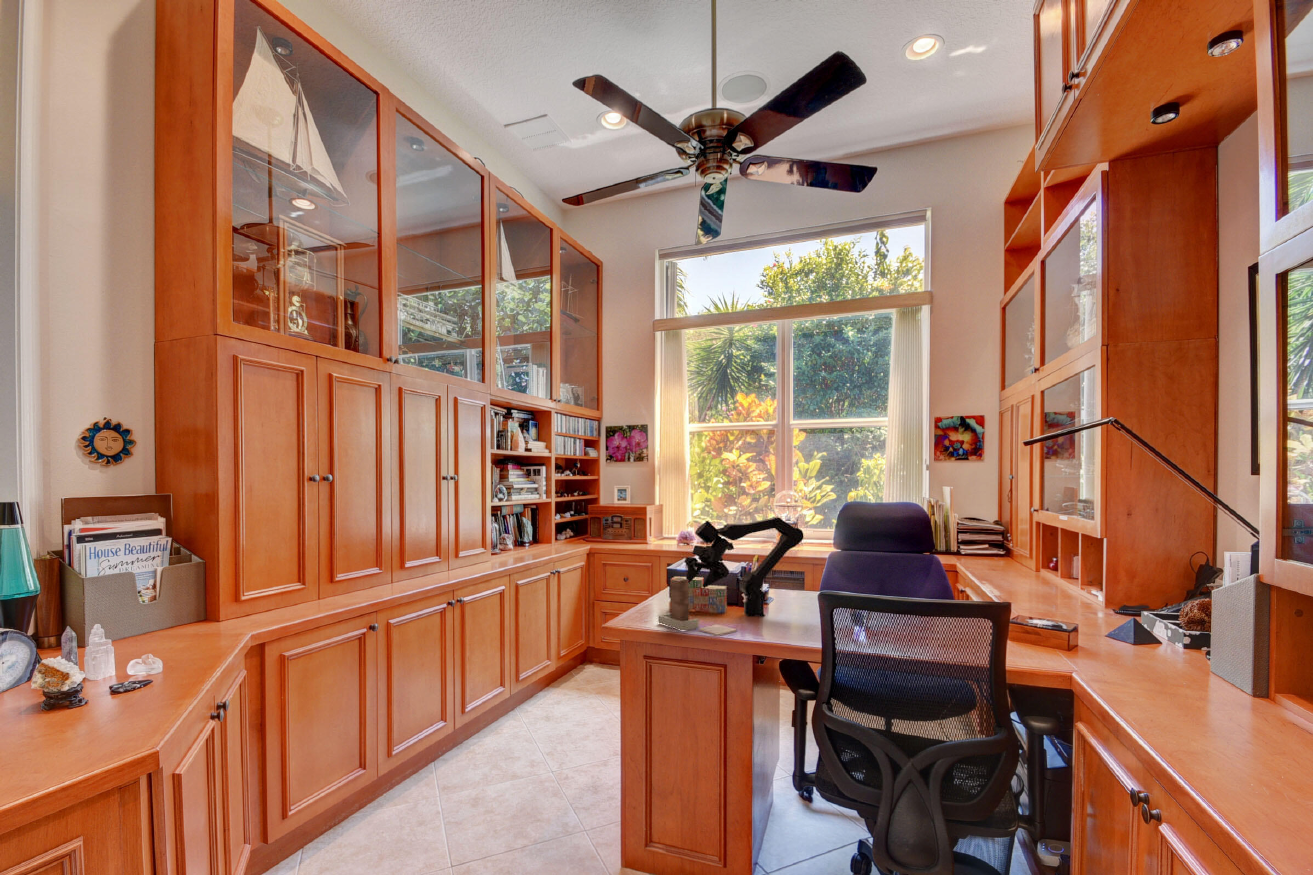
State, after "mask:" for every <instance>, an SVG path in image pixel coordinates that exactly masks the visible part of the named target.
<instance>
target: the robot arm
mask: <svg viewBox="0 0 1313 875" xmlns="http://www.w3.org/2000/svg"><path fill="white" fill-rule="evenodd" d="M768 530H776V531H777V532H778V533H780V536H779V539H778V542H777V544H775V546H774V547H773V548H772V550H771V551H769V553H768V554H767V556H766V557H764V559H763V560H762V561H761V562H760V564H759V565H758V566H757V567H756V568H755V569H754V570H753V571H750V570H746V572H745V573H744V575H743V576H742V577H740V581H739V583H738V584H739V589H740V591H741V592H743V594H744V597H745V601H744V602H743V612H744V614H745V615H746V616H747V617H766V614H765V611H764V610H765V609H764V603H765V602H764V601H765V599H766V593H765V592H764V591H763V590H762V588H763V584H764V582H765V579H766V577H767V576H768V575H769V573H770V572H772V570H773V569H774V567H776V565H777V564H778V563H779V562H780V560H782V558H783V557H784V556H785V555H786V554H787V552H789V551H790V550H791V549H793V548H795V547H796V546H797V545H799V544H800V543H801V542H802V541H803V540H804V532H803V531H802V529H800V528H798V527H795V526H793V525H791V524H790V523H789V522H786V521H785V520H783V519H782V518H781V517H779V516H778V517H777V516H772V517H770V518H766V519H761V520H756V521H750V522H746V523H726V524H724V525H723V527H719V528H716V527H715V526H714V525H712V523H711V522H710V521H709V520H706V521H704V523H702V524H700V525H699V526H698V527H697V529H696V530H695V532H694V534H695V535H696V536H697V537H698V538H699V539H700V540H702V541H703V542H704V543H705V544H710V545H706V546H702V545H696V544H695V545H694V547H693V549H692V553H691V554H692V555H695V556H697V557H698V559H699V561H698V559H697V558H696V557H693V556H688V557H686V558H685V559H684V563H685V566H686V567H687V572H686V576H685V577H686V579H688V583H689V582H690V581H692V580H693V579H694V578H695V577H698V575H699V574H700V572H701V570H702V569H705V570H709V572H708V575H707V576H706V578H705V579H704V583H703V587H704V588H705V587H707V586H709V585H712V584H714V583H715V582H718V581H720V580H723V579H724V578H727V577H728V576H729V574H730V570H729V568H728V567H727V566H726V565H725V563H724V562H723V561H724V559H723V556H724V555H725V553H726V552H727V551H732V550H734V549H735V547H734V545H733V542H729V540H730V541H737V540H740V539H742V538H744V537H745V536H748V535H750V534H755V533H758V532H762V531H763V532H764V531H768ZM727 539H728V540H727Z"/></svg>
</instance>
